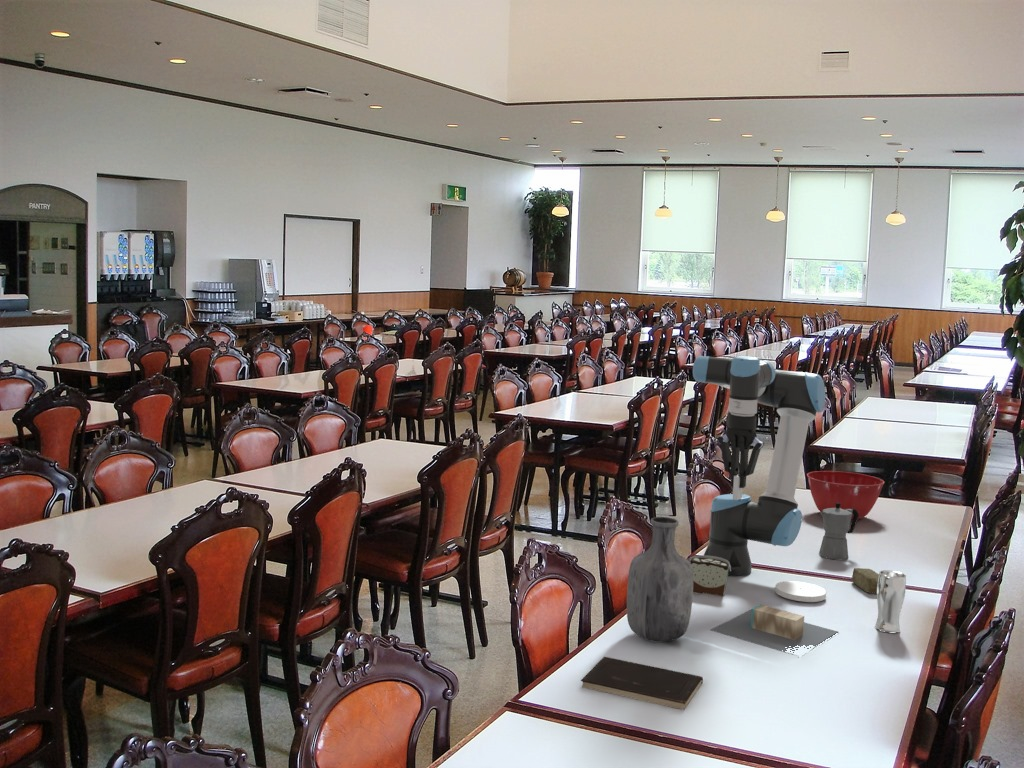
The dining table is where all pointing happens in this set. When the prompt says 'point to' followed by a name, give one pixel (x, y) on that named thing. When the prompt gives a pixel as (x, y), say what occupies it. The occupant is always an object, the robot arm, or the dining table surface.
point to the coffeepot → (837, 531)
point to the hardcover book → (642, 682)
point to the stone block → (865, 579)
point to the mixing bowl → (844, 490)
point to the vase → (660, 587)
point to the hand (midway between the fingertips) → (737, 498)
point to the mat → (743, 630)
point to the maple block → (777, 622)
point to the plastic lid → (800, 591)
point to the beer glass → (890, 599)
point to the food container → (709, 574)
